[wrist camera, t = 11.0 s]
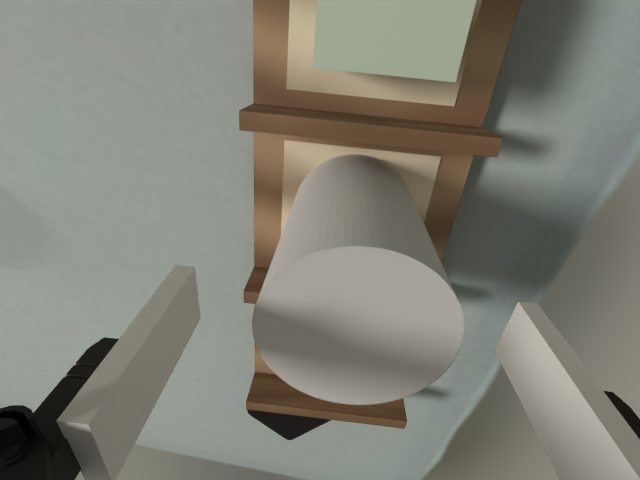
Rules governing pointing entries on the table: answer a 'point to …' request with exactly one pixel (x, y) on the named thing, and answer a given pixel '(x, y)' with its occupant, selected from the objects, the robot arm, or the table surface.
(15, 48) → the table surface
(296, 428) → the smartphone
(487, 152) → the frame
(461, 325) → the white cylinder
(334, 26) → the sage block
